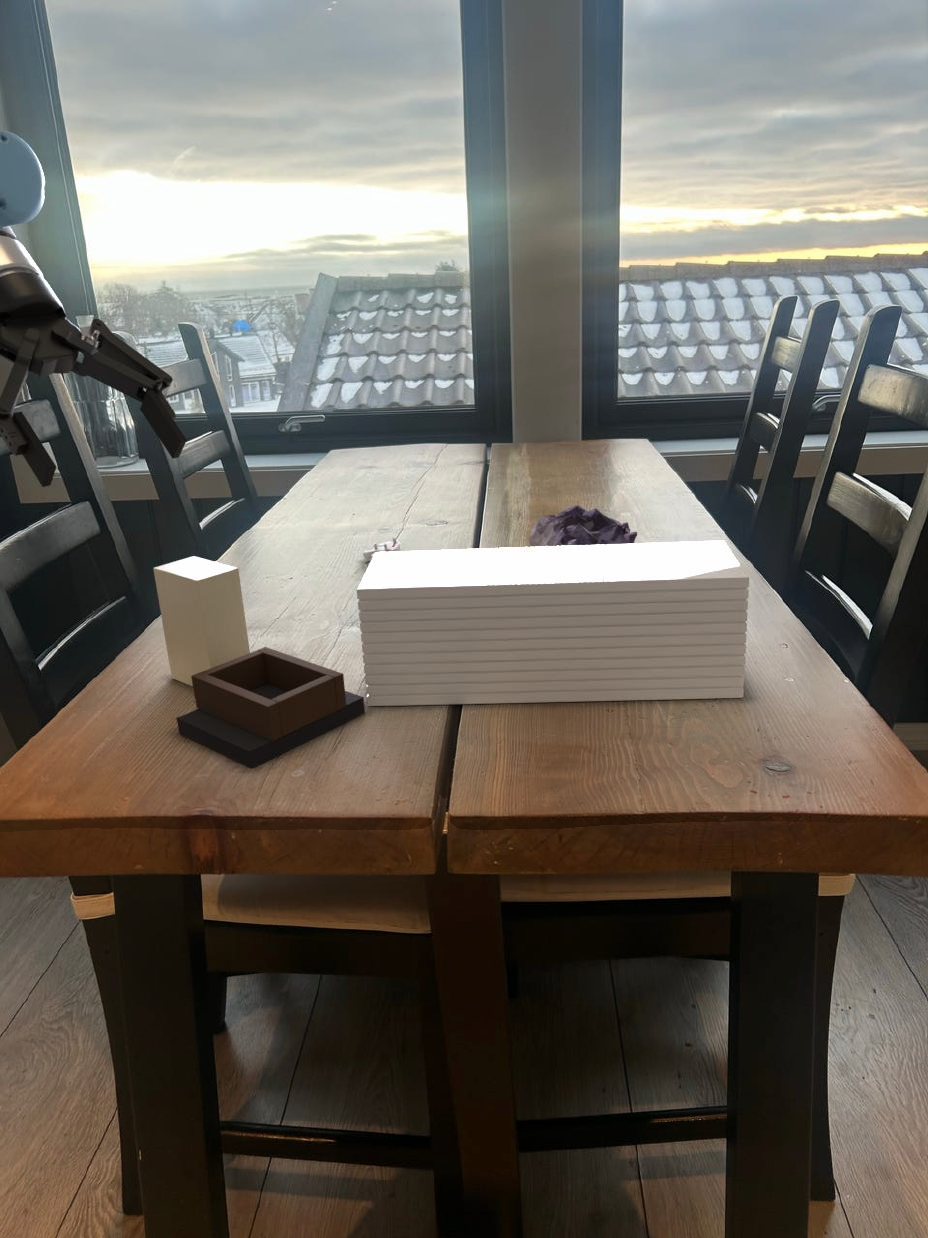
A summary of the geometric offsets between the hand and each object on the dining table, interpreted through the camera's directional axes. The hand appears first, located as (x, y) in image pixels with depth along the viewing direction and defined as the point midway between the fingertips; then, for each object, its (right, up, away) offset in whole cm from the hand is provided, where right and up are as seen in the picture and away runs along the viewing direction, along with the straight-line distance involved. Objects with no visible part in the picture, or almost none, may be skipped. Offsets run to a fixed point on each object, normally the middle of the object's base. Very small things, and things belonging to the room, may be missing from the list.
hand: (118, 462), depth 94 cm
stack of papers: (+41, -20, -4) cm, 46 cm away
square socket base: (+17, -24, -10) cm, 30 cm away
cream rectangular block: (+9, -20, 0) cm, 22 cm away
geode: (+47, -12, +17) cm, 51 cm away
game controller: (+26, -8, +32) cm, 42 cm away
